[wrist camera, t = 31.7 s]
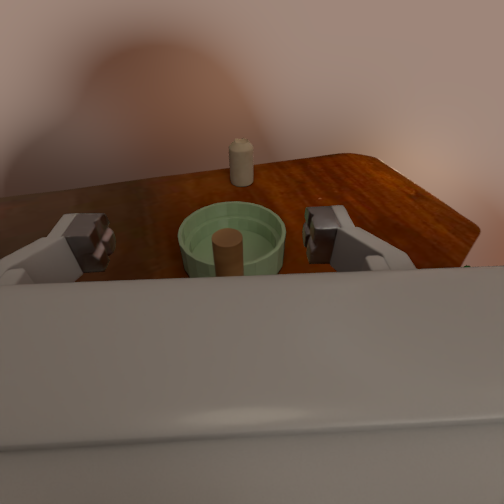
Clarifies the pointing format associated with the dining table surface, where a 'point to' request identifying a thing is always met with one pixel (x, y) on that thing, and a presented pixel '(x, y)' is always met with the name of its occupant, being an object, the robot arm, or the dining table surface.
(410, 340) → the robot arm
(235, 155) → the candle
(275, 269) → the bowl
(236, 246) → the wooden dowel stand
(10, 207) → the dining table surface
